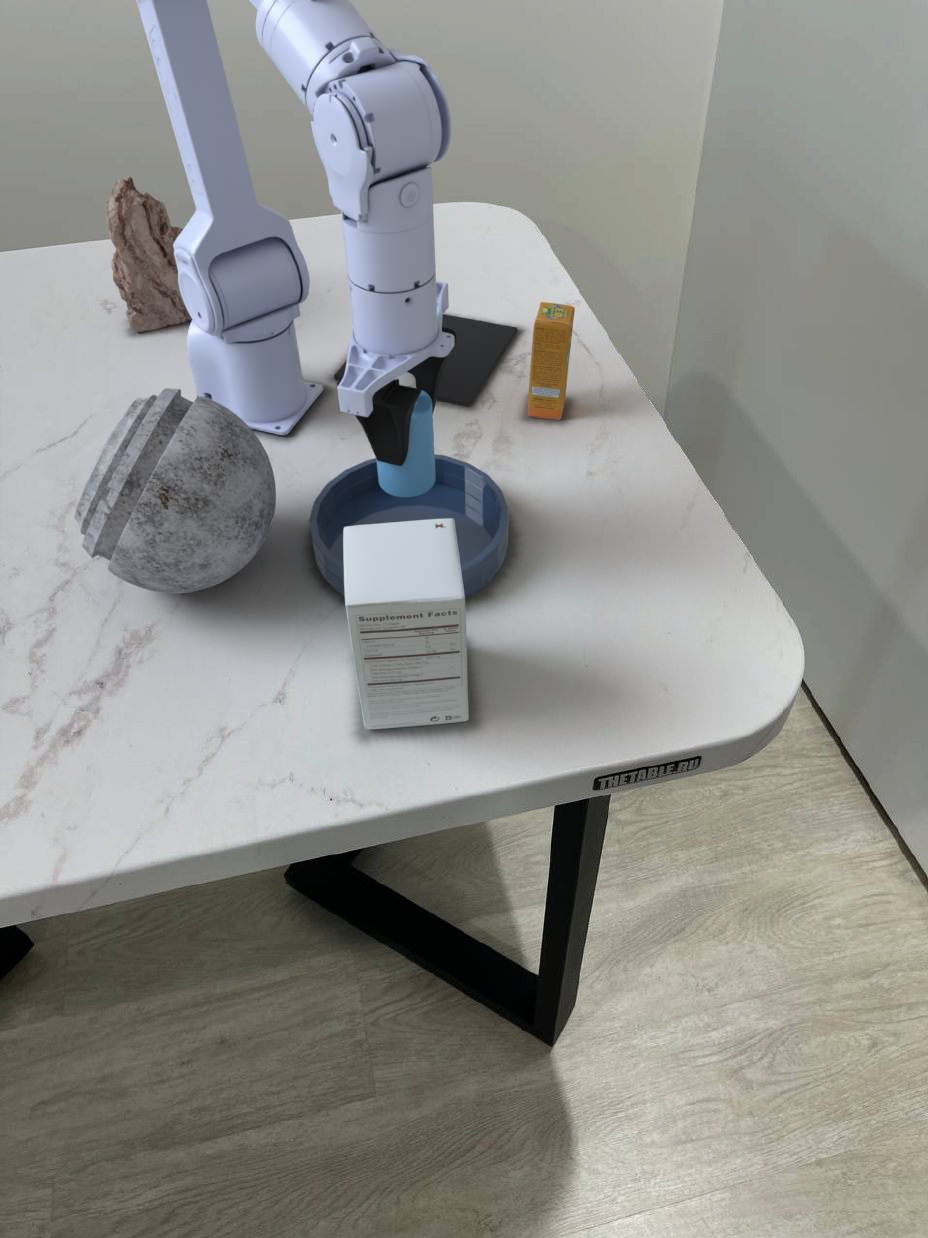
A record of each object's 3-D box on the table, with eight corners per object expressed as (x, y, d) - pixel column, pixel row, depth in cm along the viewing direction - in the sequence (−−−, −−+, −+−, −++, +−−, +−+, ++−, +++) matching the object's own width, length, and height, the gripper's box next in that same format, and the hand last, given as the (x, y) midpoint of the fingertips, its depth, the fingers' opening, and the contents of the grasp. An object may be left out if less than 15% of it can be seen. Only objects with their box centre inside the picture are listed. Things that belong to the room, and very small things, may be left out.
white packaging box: (360, 652, 74) (341, 522, 65) (461, 644, 74) (457, 513, 65) (361, 733, 69) (342, 605, 60) (470, 725, 69) (467, 595, 60)
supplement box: (563, 421, 93) (570, 323, 85) (526, 417, 93) (529, 320, 86) (568, 400, 95) (575, 303, 88) (532, 397, 95) (535, 300, 88)
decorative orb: (145, 497, 86) (96, 342, 75) (310, 513, 85) (283, 356, 74) (72, 623, 76) (3, 465, 65) (257, 644, 75) (217, 485, 64)
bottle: (369, 490, 77) (358, 390, 71) (392, 456, 80) (383, 357, 73) (422, 503, 76) (416, 402, 70) (444, 468, 79) (440, 368, 72)
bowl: (280, 583, 79) (274, 555, 77) (363, 464, 89) (360, 436, 87) (467, 633, 75) (466, 605, 73) (533, 502, 85) (534, 474, 83)
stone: (94, 202, 93) (204, 191, 95) (87, 163, 97) (192, 153, 100) (125, 337, 104) (223, 324, 107) (117, 296, 109) (211, 285, 111)
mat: (334, 379, 98) (333, 375, 98) (391, 307, 107) (391, 304, 107) (469, 406, 95) (469, 403, 94) (517, 330, 103) (517, 327, 103)
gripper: (404, 339, 60) (416, 513, 70) (487, 230, 69) (487, 398, 79) (298, 319, 62) (324, 491, 72) (392, 215, 71) (404, 380, 81)
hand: (404, 441), depth 75 cm, fingers closed on bottle, 4 cm apart
